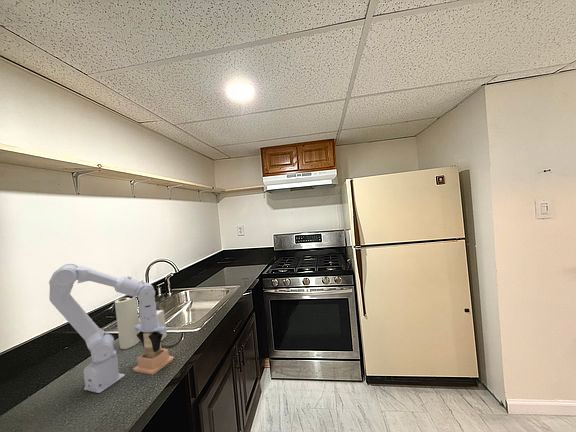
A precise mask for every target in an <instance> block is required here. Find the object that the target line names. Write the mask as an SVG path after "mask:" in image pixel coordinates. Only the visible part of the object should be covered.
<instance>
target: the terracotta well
mask: <svg viewBox="0 0 576 432" xmlns="http://www.w3.org/2000/svg"><path fill="white" fill-rule="evenodd" d="M161 349H162V353H160V354H159V355H157V356H156V357H154V358H153V359H150V358H146V357H145V352H144V353H142V354H141V355H139V356H137V358H136V360H137V365H136V366H135V367H132V372H136V373H142V374H147V375H152V376H154V375H155V374H156V373H158V372H159V371H161V369H163V368H164V367H166V366H167V365H168V364H170V363H171V362H172V361H174V360H173V359H175V357H174V356H171V355H170V354H169V349H167V348H162V347H161ZM169 362H170V363H169Z"/></svg>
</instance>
